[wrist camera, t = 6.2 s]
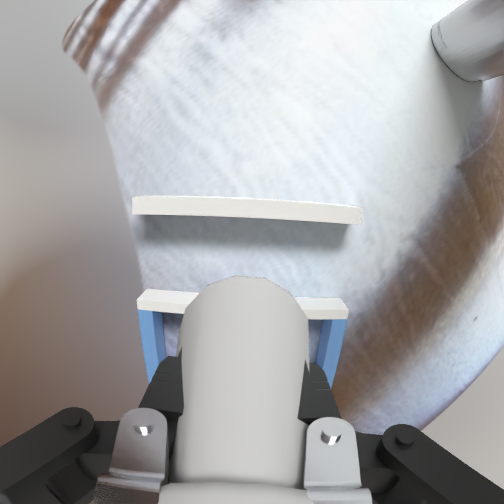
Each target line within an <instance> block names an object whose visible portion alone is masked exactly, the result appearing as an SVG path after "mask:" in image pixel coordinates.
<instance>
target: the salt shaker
mask: <svg viewBox="0 0 504 504" xmlns="http://www.w3.org/2000/svg"><path fill="white" fill-rule="evenodd" d="M181 347H182V360H181V361H182V381H183V397H184V410H183V415H182V416H180V417H179V419H178V422H177V430H176V436H175V442H174V448H173V452H172V455H171V458H170V462H169V484H167V485H165V486H162V489H161V492H160V496H159V502H158V504H314V502H313V501H312V500H311V499H310V498H309V497H308V495H307V490H301V482H302V470H303V458H304V443H305V437H306V433H307V430H308V427H309V425H307V424H306V423H304V422H302V421H300V420H299V419H297V418H298V411H299V404H300V396H301V389H302V381H303V373H304V364H305V360H306V363H307V367H308V370H309V327H308V318H307V316H306V315H305V313H304V312H303V310H302V309H301V307H300V306H299V304H298V303H297V301H296V300H295V298H294V297H293V295H292V294H291V293H290V292H289V291H287V290H285V289H284V288H282V287H280V286H278V285H277V284H275V283H273V282H271V281H270V280H268V279H266V278H260V277H248V276H238V275H235V276H232V277H229V278H226V279H223V280H220V281H218V282H215V283H212V284H209V285H207V286H206V287H205V288H204V289H203V290H202V291H201V292H200V293H199V294H198V295H197V297H196V298H195V299H194V300H193V301H192V302H191V303H190V304H189V305H188V306H187V307H186V308H185V312H184V316H183V319H182V323H181V327H180V330H179V336H178V345H177V355H176V357H178V355H179V352H180V350H181Z"/></svg>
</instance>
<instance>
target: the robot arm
mask: <svg viewBox="0 0 504 504" xmlns="http://www.w3.org/2000/svg"><path fill="white" fill-rule="evenodd" d="M431 34H432V40H433V43H434V45H435V48H436V50H437V52H438V53H439V55H440V57H441V58H442V60H443V61H444V62H445V64H446V65H447V66H448V67H449V68H450V69H451V70H452V71H453V72H454V73H455V74H456V75H458V76H459V77H460V78H462V79H464V80H466V81H470V82H473V81H477V80H482V81H486V80H489V79H492V78H495V77H498V76H501V75H504V0H468V1H466V2H465V3H464V4H462V5H461V6H459V7H458V8H456V9H455V10H454V11H452V12H451V13H449V14H448V15H447V16H445V17H444V18H443V19H441V20H440V21H439V22H437V23H436V24H435V25H433V27H432V32H431ZM181 360H182V347H181V350H180V352H179V355H178V357H172V356H168V357H167V358H165V359H164V360H163V361H161V362H160V363H159V365H158V367H157V369H156V371H155V374H154V375H153V377H152V381H151V382H150V384H149V386H148V388H147V390H146V392H145V395H144V397H143V399H142V401H141V403H140V405H139V407H138V408H137V409H133V410H130V411H128V412H127V413H126V414H125V415H123V417H122V418H121V420H120V421H94V419H93V417H92V415H91V414H90V413H89V412H88V411H87V410H85V409H82V408H77V407H70V408H66V409H63V410H61V411H60V412H58V413H56V414H55V415H53V416H51V417H50V418H48V419H47V420H45V421H43V422H42V423H40V424H38V425H37V426H35V427H33V428H32V429H30V430H28V431H27V432H25V433H23V434H21V435H20V436H18V437H16V438H15V439H13V440H11V441H10V442H8V443H6V444H4V445H3V446H1V447H0V504H88V503H90V502H91V501H92V500H93V504H158V502H159V496H160V492H161V489H162V486H165V485H167V484H169V462H170V458H171V455H172V452H173V448H174V442H175V436H176V430H177V422H178V419H179V417H180V416H182V415H183V410H184V397H183V381H182V361H181ZM297 419H299V420H300V421H302V422H304V423H306V424H307V425H309V427H308V430H307V433H306V437H305V443H304V458H303V470H302V482H301V490H307V495H308V497H309V498H310V499H311V500H312V501H313V502H314V504H504V490H503V489H502V488H500V487H499V486H497V485H496V484H494V483H493V482H491V481H490V480H488V479H487V478H485V477H484V476H482V475H481V474H479V473H478V472H477V471H475V470H474V469H472V468H471V467H469V466H468V465H467V464H465V463H464V462H462V461H461V460H459V459H458V458H457V457H455V456H454V455H452V454H451V453H450V452H448V451H447V450H445V449H444V448H443V447H441V446H440V445H439V444H437V443H436V442H434V441H433V440H432V439H430V438H429V437H428V436H426V435H425V434H424V433H422V432H421V431H420V430H418V429H417V428H415V427H413V426H411V425H406V424H397V425H394V426H391V427H389V428H388V429H387V430H386V431H385V432H384V434H383V435H375V434H364V433H359V432H356V431H355V430H354V428H353V427H352V426H351V425H350V424H349V423H348V422H346V421H345V420H342V419H341V416H340V414H339V411H338V408H337V405H336V402H335V399H334V396H333V394H332V391H331V390H330V385H329V382H328V380H327V377H326V374H325V371H324V370H323V369H322V368H321V367H320V366H319V365H318V364H317V363H309V370H308V367H307V363H306V360H305V364H304V373H303V381H302V389H301V396H300V404H299V411H298V418H297ZM60 469H61V470H60Z"/></svg>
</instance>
